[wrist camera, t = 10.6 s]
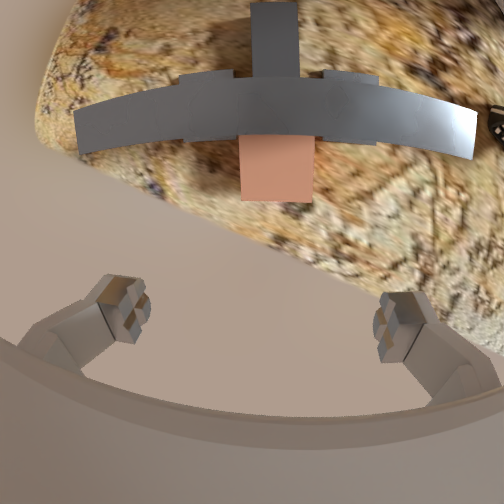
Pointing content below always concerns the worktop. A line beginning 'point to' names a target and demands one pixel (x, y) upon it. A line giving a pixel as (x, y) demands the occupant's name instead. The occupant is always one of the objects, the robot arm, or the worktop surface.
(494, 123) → the battery charger
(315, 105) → the grey arch stand
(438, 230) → the worktop surface
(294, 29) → the plug
